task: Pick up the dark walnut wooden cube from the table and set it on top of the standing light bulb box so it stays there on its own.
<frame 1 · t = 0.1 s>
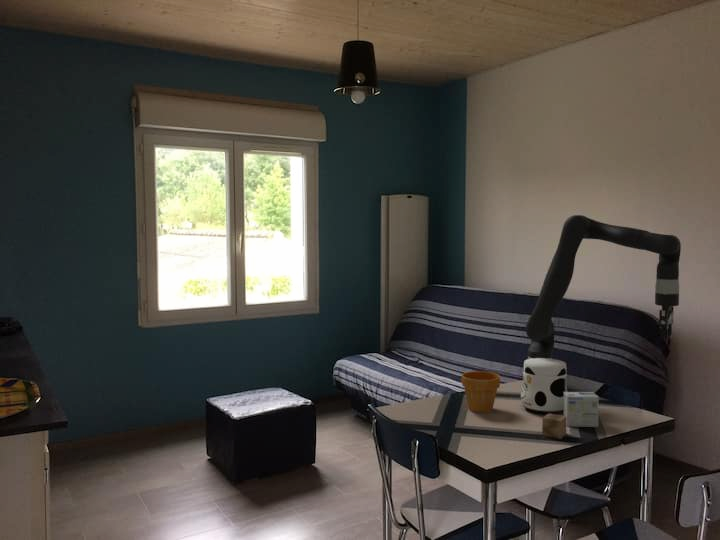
hand: (665, 337, 216), 29 cm above the table, tool pointing down, fingers open, 8 cm apart
milk container: (544, 410, 230), on the table
light bulb box: (580, 424, 213), on the table
walnut block: (554, 435, 202), on the table
flower pot: (480, 409, 231), on the table
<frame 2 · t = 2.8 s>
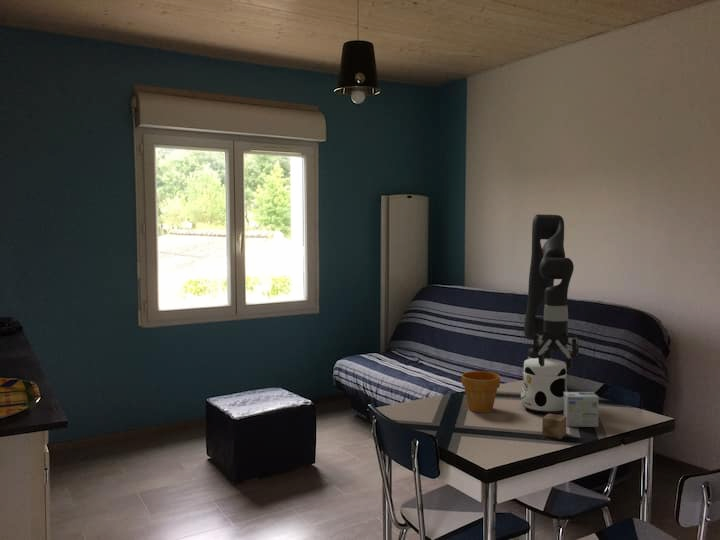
hand: (555, 367, 201), 22 cm above the table, tool pointing down, fingers open, 8 cm apart
nothing on the table moved.
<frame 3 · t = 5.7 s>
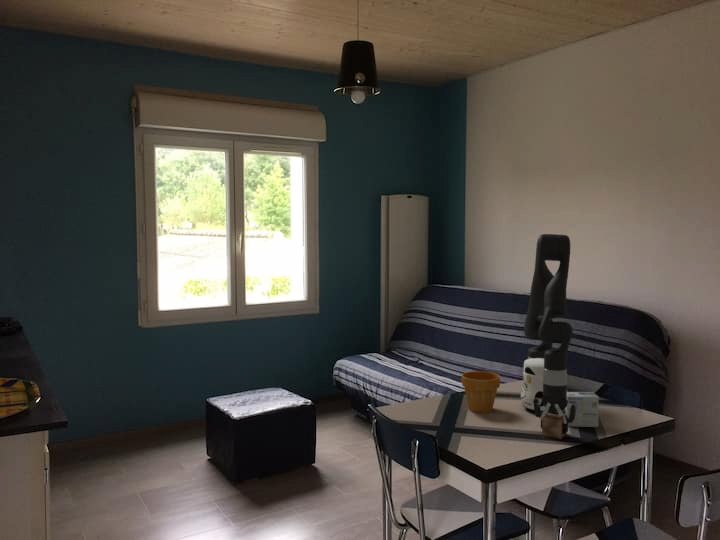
hand: (554, 431, 202), 1 cm above the table, tool pointing down, fingers closed on walnut block, 6 cm apart
walnut block: (554, 434, 202), on the table, touching gripper
everything else where it was.
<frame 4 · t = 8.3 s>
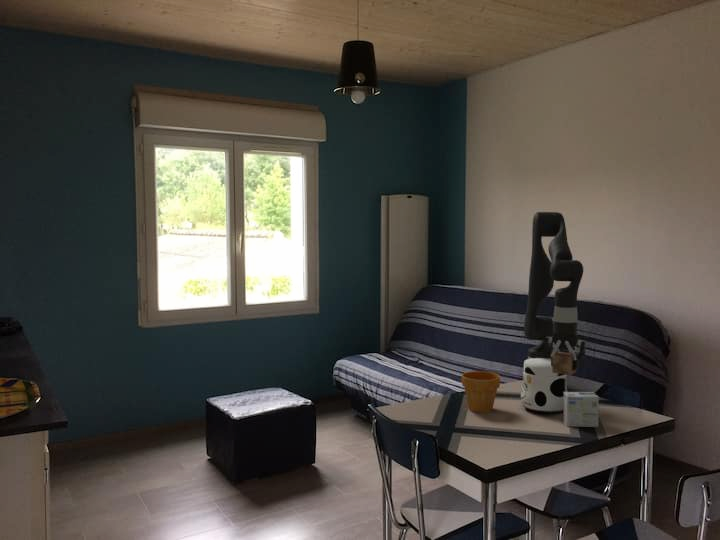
hand: (564, 369, 206), 21 cm above the table, tool pointing down, fingers closed on walnut block, 6 cm apart
walnut block: (564, 372, 206), point 20 cm above the table, touching gripper
everything else where it was.
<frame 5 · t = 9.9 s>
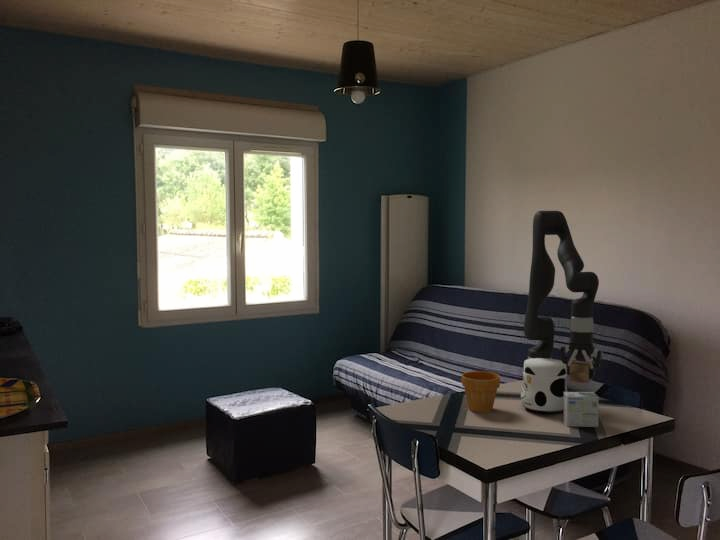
hand: (581, 377, 212), 16 cm above the table, tool pointing down, fingers closed on walnut block, 6 cm apart
walnut block: (581, 380, 212), point 15 cm above the table, touching gripper
everything else where it was.
when the fingers open (13 cm above the table, at t = 11.0 s): walnut block drops 2 cm, resting on light bulb box.
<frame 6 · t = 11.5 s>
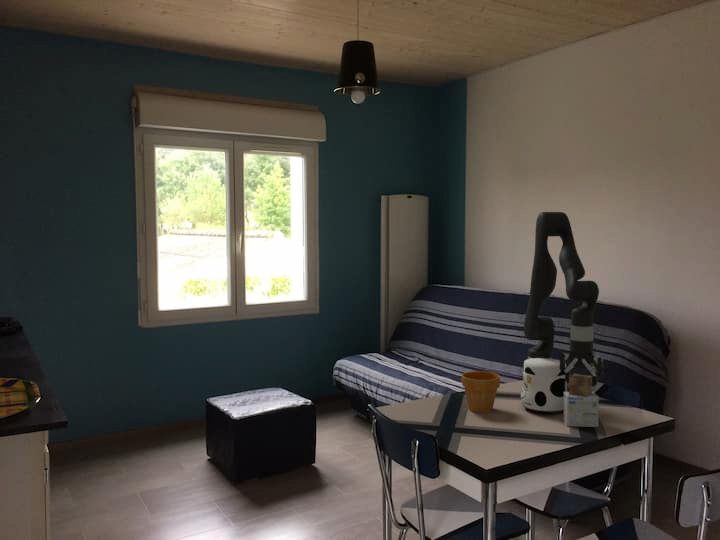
hand: (581, 384, 212), 14 cm above the table, tool pointing down, fingers open, 8 cm apart
light bulb box: (580, 424, 213), on the table, touching walnut block
walnut block: (580, 393, 212), point 11 cm above the table, touching light bulb box
everything else where it was.
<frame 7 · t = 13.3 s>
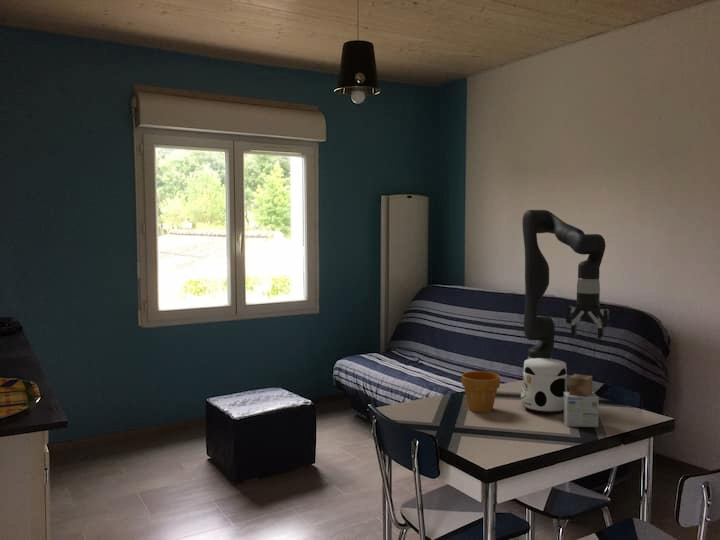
hand: (587, 337, 215), 30 cm above the table, tool pointing down, fingers open, 8 cm apart
nothing on the table moved.
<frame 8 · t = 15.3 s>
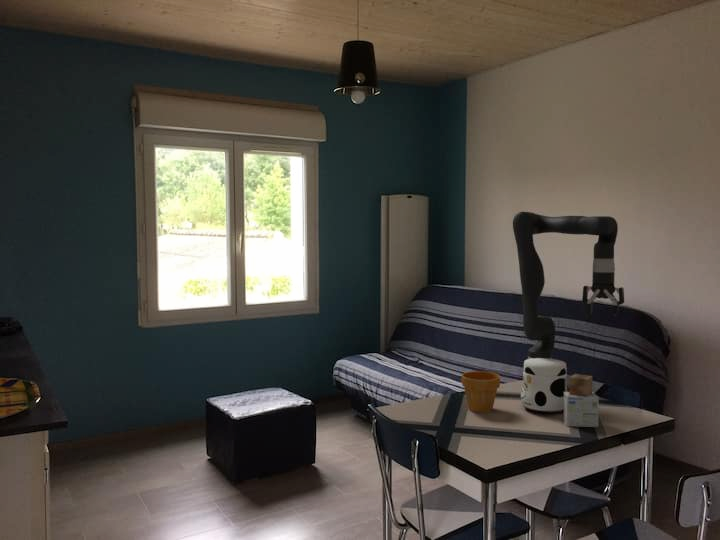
hand: (602, 314, 226), 36 cm above the table, tool pointing down, fingers open, 8 cm apart
nothing on the table moved.
at the end: walnut block inside the target area on the light bulb box (0.1 cm from its centre), point 11.0 cm above the light bulb box's base; walnut block touching light bulb box; the gripper is holding nothing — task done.
